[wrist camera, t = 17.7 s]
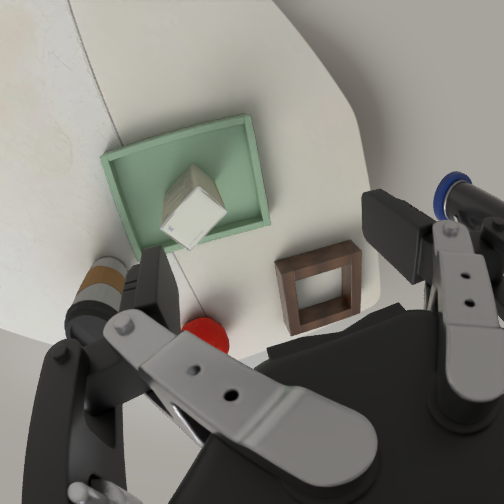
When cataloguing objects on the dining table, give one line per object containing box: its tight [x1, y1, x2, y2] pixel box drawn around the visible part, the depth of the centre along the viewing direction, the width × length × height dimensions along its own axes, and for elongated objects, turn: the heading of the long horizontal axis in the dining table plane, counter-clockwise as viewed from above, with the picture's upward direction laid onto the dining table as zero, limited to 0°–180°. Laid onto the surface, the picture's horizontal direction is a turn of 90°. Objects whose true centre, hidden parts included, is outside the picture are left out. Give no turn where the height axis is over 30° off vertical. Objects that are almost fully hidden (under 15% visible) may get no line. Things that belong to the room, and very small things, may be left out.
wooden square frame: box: [274, 240, 362, 336], centre depth 55 cm, size 14×14×4 cm
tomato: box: [181, 317, 229, 354], centre depth 53 cm, size 9×9×8 cm
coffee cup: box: [65, 257, 128, 347], centre depth 41 cm, size 8×8×15 cm
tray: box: [100, 114, 271, 261], centre depth 42 cm, size 20×16×3 cm
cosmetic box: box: [160, 163, 227, 251], centre depth 38 cm, size 6×4×12 cm
